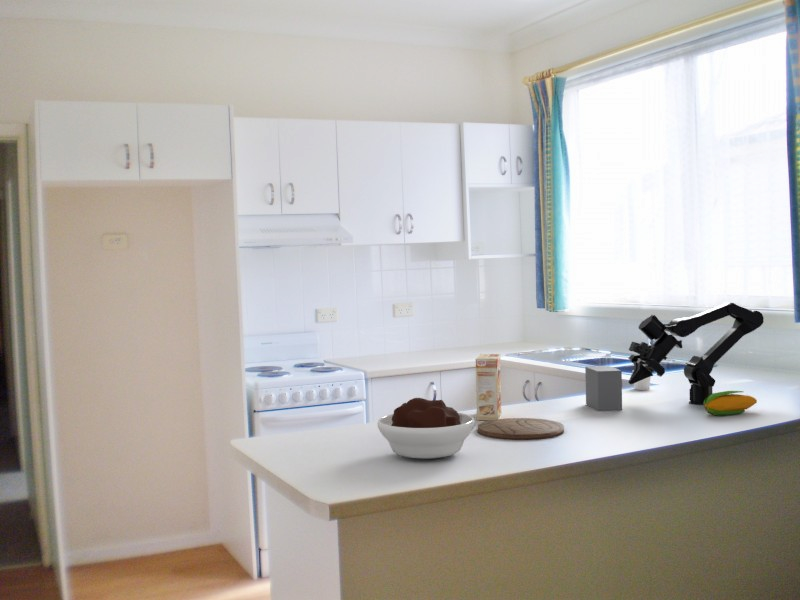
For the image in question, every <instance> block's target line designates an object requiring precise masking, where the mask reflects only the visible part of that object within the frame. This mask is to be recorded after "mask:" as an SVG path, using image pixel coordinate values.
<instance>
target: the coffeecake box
mask: <svg viewBox="0 0 800 600" xmlns="http://www.w3.org/2000/svg"><path fill="white" fill-rule="evenodd" d="M501 377H502V375H501V353H498V354H497V353H485V354H484V353H480V354H479V355H478V356H477V357H476V358H475V387H476V389H475V390H476V391H475V392H476V396H475V397H476V398H475V399H476V403H475V404H476V421H490V420H496V419H500V417H501V414H502V387H501V385H502V381H501Z"/></svg>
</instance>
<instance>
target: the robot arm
mask: <svg viewBox="0 0 800 600" xmlns="http://www.w3.org/2000/svg"><path fill="white" fill-rule="evenodd" d="M728 316H729V317H730V318H733V319H734V322H733V325H732V326H731V328H730V329H728V331H727V332H726V333H725V334H723V336H722V337H721V338H720V339H718V340H717V341H716V343H714V344H713V345H712V346H711V347H710V348H709V349H708V350H707V351H706V352H705V353H704V354H703V355H701V356H700V355H699V356H697V355H693V356H692V357H691V358H690V359H689V361H687V362H685V364H686V365H685V366H684V368H683V374H684V376H685V378H687V380H688V382H689V384H690V388H689V401H688V404H693V405H694V404H695V405H703V406H705V405H704V400H705V399H706V397H707V396H708V395H710V394H713V393H714V392H713V387H714V386H715V383H716V379H715V378H714V377H712V376H711V375H710V374H711V373H712V372H713V368H714V366H715V364H716V363H717V362H718V361H719V360H720V359H721V358H722V357H723V356H725V354H727V353H728V351H730V350H731V349H732V348H733V347H734V346H735V345H736V344H737V343H738V342H739V341H740V340H741V339H742V338H743V337H745V336H746V335H748V334H750V333H752V332H754V331H756V330H757V329H759V328H760V327H762V325H764V318H765V317H764V315H763V314H762V312H760V311H759V310H753V309H752V310H751V309H748V308H745V307H742V306H740V305H738V304H736V303H734V302H723V303H722V304H720V305H718V306H715V307H713V308H710V309H708V310H705V311H702V312H700V313H697V314H695V315H692V316H685V317H680V318H675V319H672V320H671V321H669V322H668V323H663V322H662V321H660V319H658V317H657V316H656V315H655V314H651V315H650V316H649V317H647V318H645V319H644V320H642V321H641V322H640V324H639V325H638V329H639V331H641V332H642V333H643V334H644V335H645V336H646V337H647V338H648V340H651V341H653V340H655V342H654V343H653V344H652V345H651V344H649V343H647V342H644V341H642V342H640V343H639V342H636V341H631V344H630V346H629V347H628V351H630V352H634V354H632V353H631V355H630V356H629V357H628V360H629V361H630V362H631V363H632V364H633V367H634V369H633V370H634V371H633V370H632V373H631V375H630V378H629V379H628V384H629V385H634V383H636V382H638V381H640V380H643V379H645V378H648V377H650V376H651V377H653V376H654V374H653V373H654V372H655V373H656V376H658V377H662V376H664V374H665V373H666V371H665V370H666V368H665V367H664V366H663V365H662V364H661V363H662V361H663V360H664V361H666V360H667V359H668V357H667V356H668V355H669V353H670V352H671V351H672V350H673V349H674V348H675V347H676V348H678V349H683V340H681V339H677V338H676V337H680V338H686V337H688V336H689V335H691V334H693V333H694V332H696V331H697V330H698V329H699V328H701V327H703V326H705V325H708V324H710V323H713V322H715V321H718V320H721V319H724V318H726V317H728ZM668 332H669V333H668ZM635 353H636V354H635ZM651 377H650V378H651Z"/></svg>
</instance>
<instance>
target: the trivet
mask: <svg viewBox="0 0 800 600" xmlns="http://www.w3.org/2000/svg"><path fill="white" fill-rule="evenodd" d="M477 433H478V434H479V435H480V436H483V437H487V438H491V439H497V440H504V441H505V440H506V441H507V440H508V441H536V440H537V441H538V440H546V439H552V438H556V437H559V436H561V435H563V434H564V433H565V426H564V424H562V423H561V422H558V421H554V420H550V419H543V418H532V417H531V418H529V417H528V418H527V417H510V418H509V417H508V418H499V419H496V420H490V421H489V420H485V421H483V422H480V423H479V424H478V425H477Z"/></svg>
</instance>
